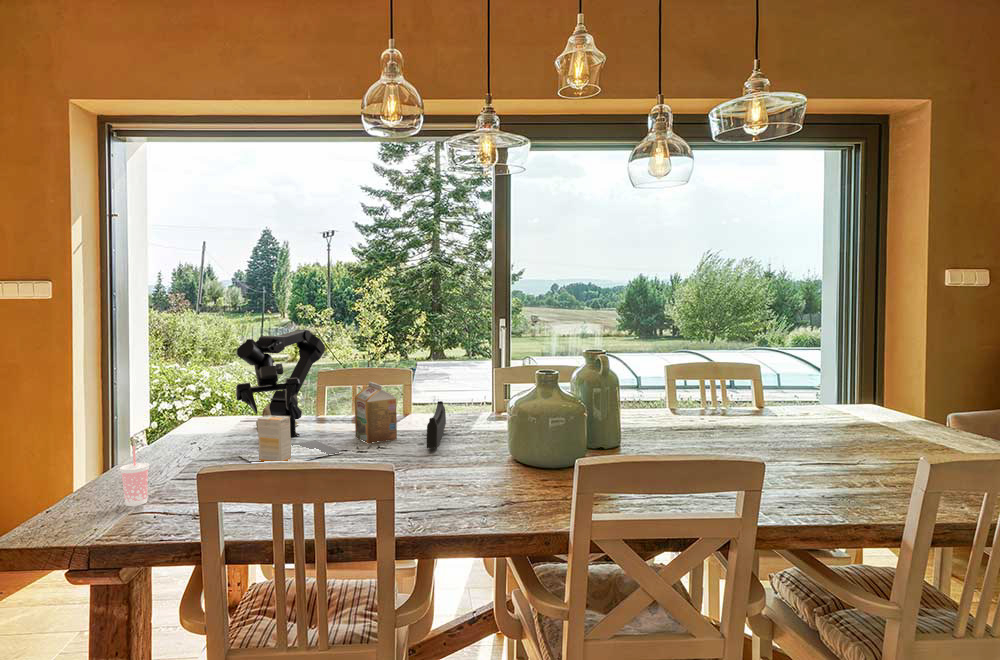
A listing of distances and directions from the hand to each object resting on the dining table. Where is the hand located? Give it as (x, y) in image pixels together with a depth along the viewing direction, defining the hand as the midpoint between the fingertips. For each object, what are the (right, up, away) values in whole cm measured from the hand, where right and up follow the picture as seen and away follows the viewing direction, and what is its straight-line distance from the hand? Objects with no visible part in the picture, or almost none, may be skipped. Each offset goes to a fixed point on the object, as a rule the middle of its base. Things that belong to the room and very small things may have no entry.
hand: (272, 411), depth 189 cm
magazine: (+49, -12, +17) cm, 54 cm away
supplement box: (+4, -14, -9) cm, 17 cm away
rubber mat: (+6, -13, -1) cm, 15 cm away
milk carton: (+28, -12, +19) cm, 36 cm away
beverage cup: (-17, -17, -42) cm, 49 cm away
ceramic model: (-12, -11, +36) cm, 40 cm away
